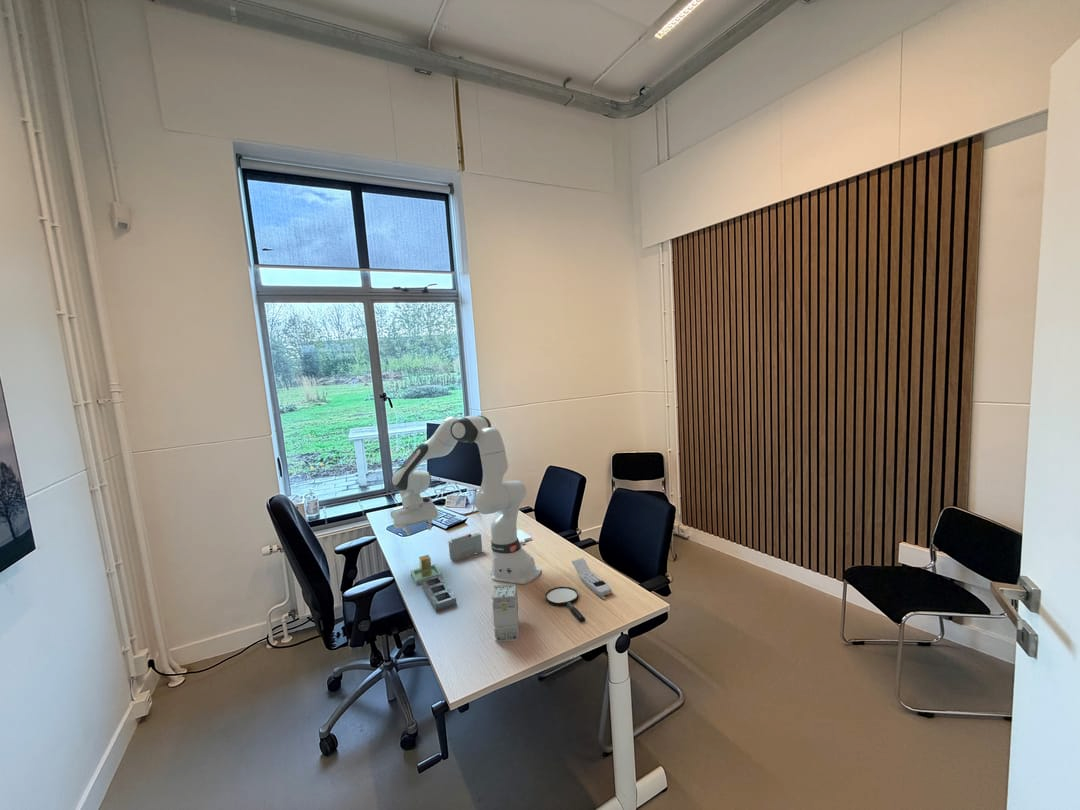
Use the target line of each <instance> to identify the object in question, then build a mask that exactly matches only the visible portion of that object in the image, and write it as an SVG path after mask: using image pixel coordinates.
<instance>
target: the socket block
mask: <svg viewBox="0 0 1080 810" xmlns="http://www.w3.org/2000/svg"><path fill="white" fill-rule="evenodd" d="M421 588H422V590H423V592H424V594H425V595H426V597H427V599H428V601H429V602H430V604H431V606H432V608H433V609H434V611H435V613H438V612H441V611H443V610H447V609H449V608H453V607H455V606H458V604H457V603H458V602H457V597H456V595H454V593H453V592H452V590H451V588H450V587H449V586H448V584H447V583H446V581H445V580H444V579H443V576H442V577H441V575H439V576H436V577H432V578H429V579H426V580H422V584H421Z"/></svg>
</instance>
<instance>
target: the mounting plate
mask: <svg viewBox="0 0 1080 810" xmlns="http://www.w3.org/2000/svg"><path fill="white" fill-rule="evenodd" d="M517 538H518V540H519V542H522V541H523V542H522V543H523V544H524V545H525V544H526V542H529V541H528V540H530V541H532V540H533V539H532V538H533V537H532V536H531V535H529V534H528V533H526V532H525V531H523V530H522V529H517ZM525 541H526V542H525ZM523 544H521V546H523Z"/></svg>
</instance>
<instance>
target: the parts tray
mask: <svg viewBox="0 0 1080 810" xmlns="http://www.w3.org/2000/svg"><path fill="white" fill-rule="evenodd" d="M431 570H432V575H430V576H427V577H423V578H422V576H421V572H420V567H419V568H418V567H417V568H416V569H411V570H410V575H412V576H411V577H413V578H412V579H414V580H413V581H414V584H415V585H416V586H418V585H417V584H419V585H422V584H421V583H422V580H426V579H429V578H432V577H436V576H439V575H441V577H442V578H443V573H442V572H441V570H440V569H439V567H438V566H437V565H436V564H435V563H433V564H431Z"/></svg>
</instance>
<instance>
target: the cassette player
mask: <svg viewBox="0 0 1080 810" xmlns="http://www.w3.org/2000/svg"><path fill="white" fill-rule="evenodd" d="M447 543H448V550H449V551H448V552H449V559H451V560H452V561H451V560H450V561H451V562H453V560H454V561H456V560H457V561H458V560H461V559H463V557H464V558H467V557H469V556H468V555H470V556H472V554H474V555H476V554H475V553H477V554H480V553H482V552H483V545H482V534H481V533H480V532H477V533H472V534H471V533H468V534H465V535H461V536H457V537H453V538H451V540H448V542H447ZM481 551H482V552H481ZM479 552H480V553H479ZM466 556H467V557H466Z"/></svg>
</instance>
